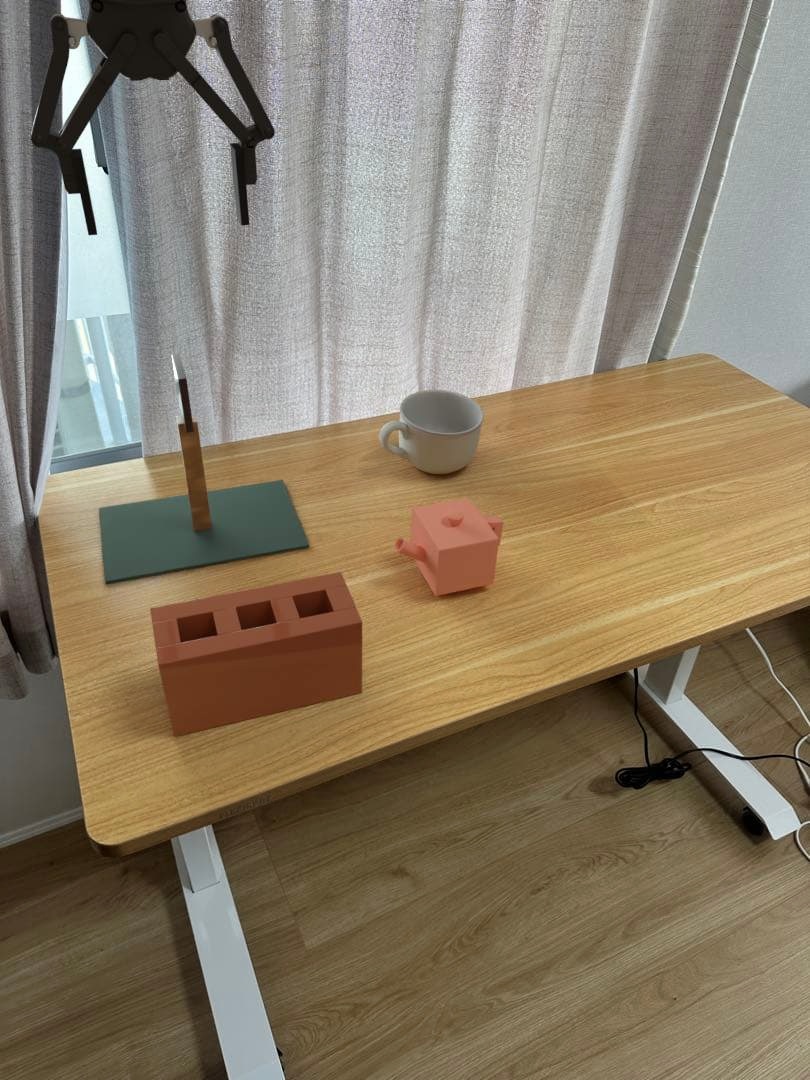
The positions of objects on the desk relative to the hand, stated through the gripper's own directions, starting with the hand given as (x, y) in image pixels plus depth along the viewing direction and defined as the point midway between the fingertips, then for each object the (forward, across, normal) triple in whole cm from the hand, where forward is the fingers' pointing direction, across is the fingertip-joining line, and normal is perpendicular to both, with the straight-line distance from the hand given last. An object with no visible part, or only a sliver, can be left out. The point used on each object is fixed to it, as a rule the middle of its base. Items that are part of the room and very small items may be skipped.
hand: (169, 226), depth 75 cm
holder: (+33, -1, +28) cm, 44 cm away
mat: (+33, +1, +2) cm, 33 cm away
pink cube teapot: (+34, -23, +18) cm, 44 cm away
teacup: (+34, -29, -4) cm, 44 cm away
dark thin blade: (+33, +1, +2) cm, 33 cm away
